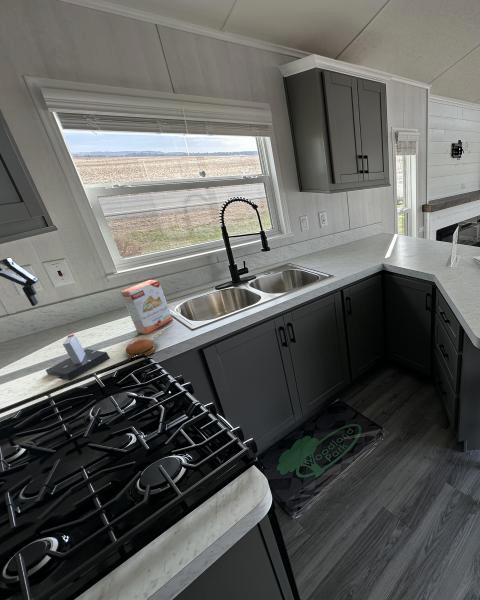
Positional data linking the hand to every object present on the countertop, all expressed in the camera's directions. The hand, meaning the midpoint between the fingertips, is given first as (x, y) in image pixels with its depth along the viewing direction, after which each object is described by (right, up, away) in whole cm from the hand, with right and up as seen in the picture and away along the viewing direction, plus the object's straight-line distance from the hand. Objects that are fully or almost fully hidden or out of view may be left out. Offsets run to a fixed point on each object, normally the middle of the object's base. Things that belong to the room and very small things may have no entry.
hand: (7, 309), depth 107 cm
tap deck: (+6, -23, +19) cm, 30 cm away
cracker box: (+15, -9, +46) cm, 49 cm away
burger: (+24, -19, +26) cm, 40 cm away
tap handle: (+6, -20, +18) cm, 27 cm away
